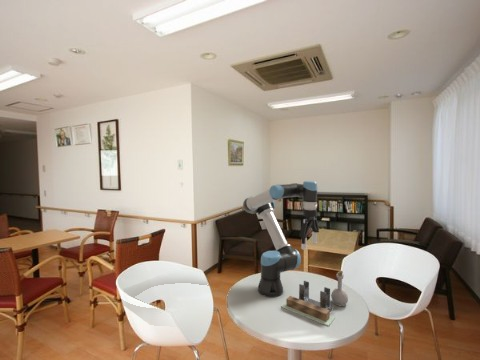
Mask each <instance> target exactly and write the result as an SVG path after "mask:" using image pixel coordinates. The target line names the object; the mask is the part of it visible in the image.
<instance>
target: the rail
mask: <svg viewBox="0 0 480 360" xmlns="http://www.w3.org/2000/svg"><path fill="white" fill-rule="evenodd" d="M285 302H286V306H288V307H291V308H293V309H295V310H298V311H300V312H303V313H305V314H308V315H310V316H313V317H315V318H318V319H320V320H323V321H325V322H327V321H328V319H329V318H330V316H331V315H330V313H331V311H330V310H327V309H325V308H322V307H319V306H316V305H314V304H311V303H308V302H306V301H303V300H300V299H299V297H298V298H297V297H295V296H292V295H289V296H288V297H287V298H286V301H285Z"/></svg>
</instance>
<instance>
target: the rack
mask: <svg viewBox="0 0 480 360" xmlns="http://www.w3.org/2000/svg"><path fill="white" fill-rule="evenodd" d="M298 290H299V291H298V299H300V300H303V301H306V302H308V303H311V304H314V305H316V306H319V307H322V308H325V309H327V310H330V312H331V311H332V310H333V309H334V306H332V305H331V288H330V287H326V286H324V288H323V290H320V292H319V301H318V300H315V299H312V298H310V281H306V280H303V284H301V283H299V284H298Z"/></svg>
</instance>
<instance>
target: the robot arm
mask: <svg viewBox="0 0 480 360" xmlns="http://www.w3.org/2000/svg"><path fill="white" fill-rule="evenodd" d="M302 183H303V184H302ZM302 183H295V182H294V183H289V184H287V183H286V184H274V185H270V187H269V189H267V190H266V191H263V192H260V193H259V194H257V195H254V196H249V197H247V198H245V199H244V200H243V204H242V207H243V210H244V211H245V212H246V213H249V214H253V215H254V214H257V215H258V217H259V218H261V219H262V220H263V223H264V225H265V228H266V229H267V232H268V234H269V236H270V239H271V241H272V244H273V246H274V248H275V250H267V251H265V252H263V253H262V254H261V257H260V279H259V283H258V286H257V291H258V293H259V295H261V296H263V297H266V298H267V297H269V298H276V297H280V296H282V295H283V294H284V293H283V292H284V286H283V284H282V281H281V273H284V272H288V271H292V270H296V269H297V268H299V267H300V265H301V261H302V257H301V254H300V252H299V251H298V250H297V249H295V248H293V246H292V244H289V243H288V241H287V239H286V237H285V234H284V233H283V230H282V228H281V225H280V224H279V222H278V220H277V217H276V216H275V213H274V212H275V209H276V208H275V207H276V203H275V202H276V201H277V200H281V199H284V198H285V199H286V198H296V197H298V198H302V208H303V210H302V216H304V218H302V220H301V226H300V229H299V230H300V232H299V236H298V237H299V238H301V246H300V248H301V250H304V251H307V249H308V248H307V247H308V246H307V245H308V242H307V241H308V238H307V235H308V232H309V229H310V228H311V230H312V233H311V243H312V244H316V245H317V244H318V233H319V232H320V231H319V230H320V227H319V224H318V217H317V216H318V183H317V182H316V181H314V180H313V181H312V180H311V181H310V180H306V181H303V182H302Z"/></svg>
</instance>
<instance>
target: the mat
mask: <svg viewBox="0 0 480 360" xmlns="http://www.w3.org/2000/svg"><path fill="white" fill-rule="evenodd" d="M280 307H281V308H283V309H286V310H288V311H289V312H293V313H295V314H297V315H300V316H303V317H304V318H306V319H307V318H308V319H310V320H312V321H315V322H317V323H319V324H322V325H324V326H326V327H330V326H331V324H333V322H334V321H335V319H336V317H334V316H331V315H330V318H329V319H328V321H327V322H325V321H323V320H320V319H318V318H315V317H313V316H310V315H308V314H305V313H303V312H300V311H298V310H295V309H293V308H291V307H288V306H286V301H285V302H283V304H281V306H280Z"/></svg>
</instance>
